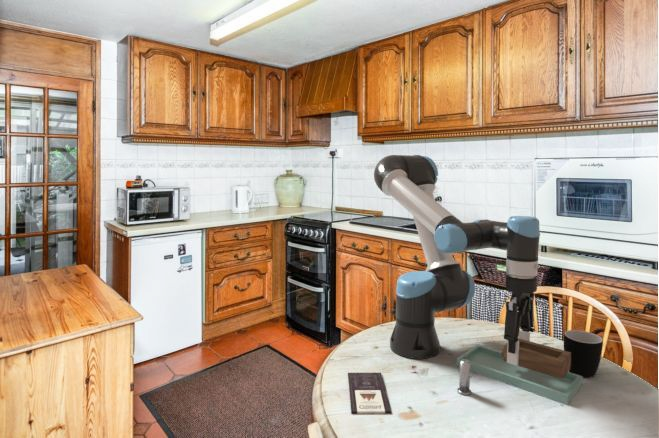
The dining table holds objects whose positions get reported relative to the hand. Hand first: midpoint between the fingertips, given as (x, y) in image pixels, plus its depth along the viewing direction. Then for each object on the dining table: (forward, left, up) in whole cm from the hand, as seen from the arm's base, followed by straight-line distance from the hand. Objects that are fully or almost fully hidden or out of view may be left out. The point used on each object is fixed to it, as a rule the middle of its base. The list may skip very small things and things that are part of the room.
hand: (518, 358), depth 109 cm
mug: (+11, +15, -5) cm, 19 cm away
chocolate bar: (-23, -35, -5) cm, 42 cm away
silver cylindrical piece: (-6, -18, -5) cm, 20 cm away
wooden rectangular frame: (+5, 0, 0) cm, 5 cm away
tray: (0, 0, -5) cm, 5 cm away
